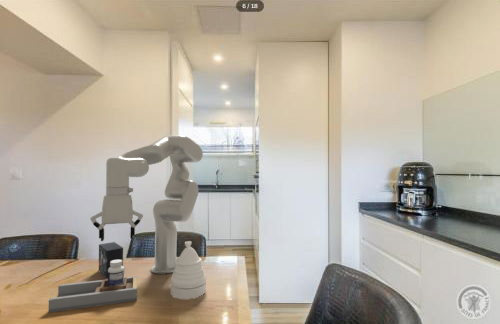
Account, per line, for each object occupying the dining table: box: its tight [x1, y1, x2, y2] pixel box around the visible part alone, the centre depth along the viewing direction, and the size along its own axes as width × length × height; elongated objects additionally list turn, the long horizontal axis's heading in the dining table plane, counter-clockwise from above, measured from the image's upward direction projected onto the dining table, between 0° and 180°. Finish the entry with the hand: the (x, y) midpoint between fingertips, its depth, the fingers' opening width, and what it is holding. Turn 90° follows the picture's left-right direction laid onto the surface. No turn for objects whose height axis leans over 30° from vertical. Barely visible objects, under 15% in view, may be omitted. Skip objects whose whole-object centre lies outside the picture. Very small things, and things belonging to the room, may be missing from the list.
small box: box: [98, 241, 124, 280], centre depth 129 cm, size 13×7×12 cm, turn 41°
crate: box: [95, 276, 132, 292], centre depth 106 cm, size 12×9×4 cm
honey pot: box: [170, 240, 207, 300], centre depth 110 cm, size 13×13×18 cm
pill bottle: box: [108, 260, 125, 287], centre depth 106 cm, size 5×5×10 cm
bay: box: [48, 275, 138, 314], centre depth 104 cm, size 26×13×4 cm, turn 111°
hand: (117, 239), depth 106 cm, fingers open, 9 cm apart
